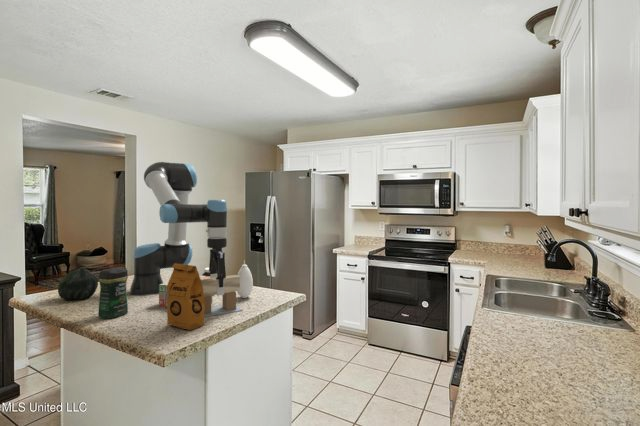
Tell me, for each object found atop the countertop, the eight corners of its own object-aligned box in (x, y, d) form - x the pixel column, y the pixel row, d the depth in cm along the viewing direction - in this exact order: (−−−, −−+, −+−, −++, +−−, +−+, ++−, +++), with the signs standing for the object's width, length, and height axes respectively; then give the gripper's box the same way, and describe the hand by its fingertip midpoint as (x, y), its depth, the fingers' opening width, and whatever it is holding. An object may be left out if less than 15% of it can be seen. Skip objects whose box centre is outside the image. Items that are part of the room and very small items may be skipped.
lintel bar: (193, 295, 131) (193, 280, 131) (235, 288, 143) (235, 274, 143) (196, 297, 128) (196, 282, 128) (239, 290, 140) (239, 276, 140)
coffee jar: (110, 320, 124) (110, 270, 123) (94, 318, 126) (93, 269, 126) (132, 312, 133) (131, 266, 132) (116, 310, 135) (116, 265, 135)
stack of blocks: (158, 306, 142) (158, 277, 141) (166, 302, 148) (166, 274, 148) (206, 308, 140) (206, 279, 140) (212, 303, 146) (212, 275, 146)
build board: (191, 311, 135) (191, 293, 135) (235, 304, 145) (235, 287, 145) (196, 318, 127) (196, 299, 127) (242, 310, 136) (242, 292, 136)
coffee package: (186, 333, 112) (186, 268, 111) (162, 326, 118) (162, 264, 117) (209, 324, 120) (209, 263, 120) (186, 318, 126) (186, 260, 126)
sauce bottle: (254, 298, 154) (254, 260, 153) (237, 300, 150) (237, 261, 150) (250, 294, 161) (250, 257, 160) (234, 296, 157) (234, 258, 157)
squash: (58, 284, 156) (58, 263, 148) (96, 281, 165) (99, 261, 157) (57, 310, 148) (57, 289, 140) (97, 305, 157) (100, 286, 149)
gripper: (201, 235, 143) (201, 287, 143) (214, 240, 124) (214, 300, 124) (219, 235, 147) (219, 285, 147) (234, 239, 127) (234, 297, 128)
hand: (217, 292), depth 136 cm, fingers open, 10 cm apart
